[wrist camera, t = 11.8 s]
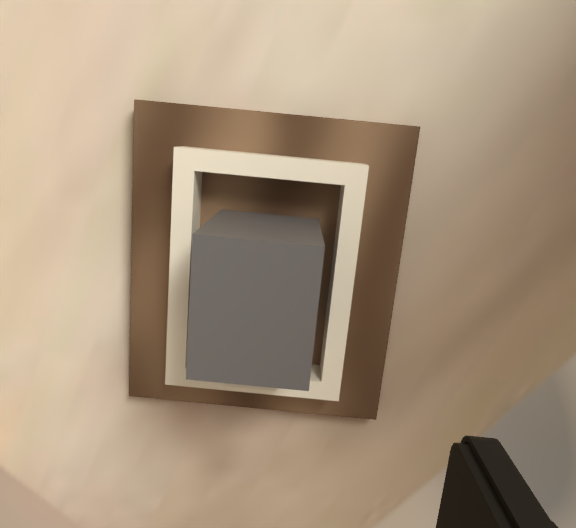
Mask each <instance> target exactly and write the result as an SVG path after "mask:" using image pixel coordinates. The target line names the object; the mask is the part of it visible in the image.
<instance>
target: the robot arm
mask: <svg viewBox="0 0 576 528" xmlns="http://www.w3.org/2000/svg"><path fill="white" fill-rule="evenodd" d="M436 528H558V527H557V526H556V525H555V524H554V522H552V521H551V520H550V519H549V517H548V516H547V514H546V513H545V511H544V509H543V508H542V507H541V505H540V503H539V502H538V501H537V499H536V497H535V496H534V494H533V492H532V491H531V489H530V488H529V486H528V485H527V483H526V482H525V480H524V479H523V477H522V476H521V474H520V473H519V471H518V469H517V468H516V466H515V465H514V463H513V462H512V460H511V459H510V457H509V456H508V454H507V452H506V451H505V449H504V448H503V446H502V445H501V443H500V442H499V441H498V440H497V439H494V438H485V437H474V436H465V437H463V439H462V441H461V443H454V444H453V445H452V447H451V451H450V456H449V461H448V467H447V472H446V478H445V482H444V488H443V493H442V498H441V504H440V509H439V515H438V519H437V525H436Z"/></svg>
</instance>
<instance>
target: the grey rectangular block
mask: <svg viewBox="0 0 576 528" xmlns="http://www.w3.org/2000/svg"><path fill="white" fill-rule="evenodd" d="M324 251H325V244H324V240H323V236H322V231H321V227H320V223H319V218H309V217H298V216H288V215H277V214H267V213H256V212H245V211H235V210H224V209H221V210H220V211H219V212H217V213H216V214H215V215H214V216H213V217H212V218H210V219H209V220H208V221H207V222H206V223H205V224H203V225H202V226H201V227H200V228H199V229H198V230H196V231H195V232H194V233H193V234H192V254H191V276H190V298H189V319H188V341H187V363H186V380H196V381H207V382H217V383H223V386H229V387H240V388H250V389H261V390H271V391H277V388H280V389H291V390H301V391H309V385H310V376H311V367H312V358H313V349H314V340H315V331H316V322H317V313H318V304H319V296H320V287H321V278H322V269H323V260H324Z"/></svg>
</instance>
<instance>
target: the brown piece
mask: <svg viewBox="0 0 576 528" xmlns="http://www.w3.org/2000/svg"><path fill="white" fill-rule="evenodd" d="M419 132H420V127H417V126H407V125H396V124H386V123H375V122H365V121H354V120H344V119H333V118H323V117H312V116H302V115H292V114H281V113H271V112H260V111H250V110H239V109H229V108H218V107H208V106H197V105H187V104H176V103H166V102H155V101H145V100H135V99H134V147H133V203H132V259H131V315H130V371H129V396H137V397H147V398H158V399H168V400H178V401H189V402H199V403H209V404H220V405H230V406H240V407H251V408H261V409H272V410H282V411H292V412H303V413H313V414H323V415H334V416H344V417H354V418H365V419H375V420H376V416H377V410H378V403H379V396H380V390H381V383H382V377H383V370H384V363H385V357H386V350H387V343H388V337H389V330H390V324H391V317H392V310H393V304H394V297H395V291H396V284H397V277H398V271H399V264H400V257H401V251H402V244H403V238H404V231H405V224H406V218H407V211H408V204H409V198H410V191H411V185H412V178H413V171H414V165H415V158H416V151H417V145H418V138H419ZM221 209H224V210H235V211H245V212H256V213H267V214H277V215H288V216H298V217H309V218H319V223H320V227H321V231H322V236H323V240H324V244H325V251H324V260H323V269H322V278H321V287H320V296H319V304H318V313H317V322H316V331H315V340H314V349H313V358H312V367H311V376H310V385H309V391H301V390H291V389H280V388H277V391H271V390H261V389H250V388H240V387H229V386H223V383H217V382H207V381H196V380H186V363H187V341H188V319H189V298H190V276H191V254H192V234H193V233H194V232H195V231H196V230H198V229H199V228H200V227H201V226H202V225H203V224H205V223H206V222H207V221H208V220H209V219H210V218H212V217H213V216H214V215H215V214H216V213H217V212H219V211H220V210H221Z"/></svg>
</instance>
